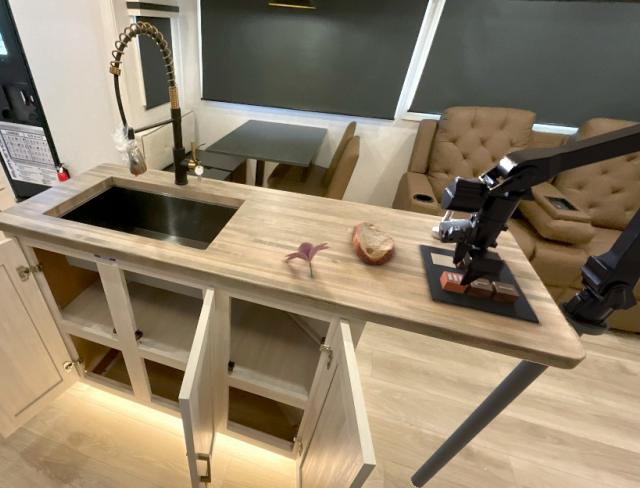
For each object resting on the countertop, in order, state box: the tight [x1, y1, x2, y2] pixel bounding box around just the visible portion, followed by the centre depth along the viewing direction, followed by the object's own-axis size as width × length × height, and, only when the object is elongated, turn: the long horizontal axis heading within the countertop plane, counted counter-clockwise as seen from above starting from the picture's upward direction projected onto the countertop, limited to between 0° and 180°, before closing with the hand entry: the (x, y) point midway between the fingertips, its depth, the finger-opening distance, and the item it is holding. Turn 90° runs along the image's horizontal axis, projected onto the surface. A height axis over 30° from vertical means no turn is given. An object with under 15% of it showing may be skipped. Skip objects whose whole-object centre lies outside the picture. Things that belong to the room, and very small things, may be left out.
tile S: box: [440, 271, 467, 294], centre depth 80 cm, size 4×4×3 cm
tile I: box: [491, 281, 520, 304], centre depth 77 cm, size 4×4×3 cm
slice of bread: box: [352, 220, 395, 265], centre depth 94 cm, size 18×18×4 cm
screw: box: [431, 210, 455, 240], centre depth 97 cm, size 13×5×5 cm
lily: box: [284, 241, 331, 278], centre depth 82 cm, size 12×12×10 cm
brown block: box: [457, 258, 466, 269], centre depth 87 cm, size 4×4×3 cm
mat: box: [420, 244, 540, 324], centre depth 84 cm, size 22×26×1 cm
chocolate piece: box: [465, 278, 493, 299], centre depth 78 cm, size 4×4×3 cm
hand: (458, 274), depth 78 cm, fingers open, 9 cm apart
